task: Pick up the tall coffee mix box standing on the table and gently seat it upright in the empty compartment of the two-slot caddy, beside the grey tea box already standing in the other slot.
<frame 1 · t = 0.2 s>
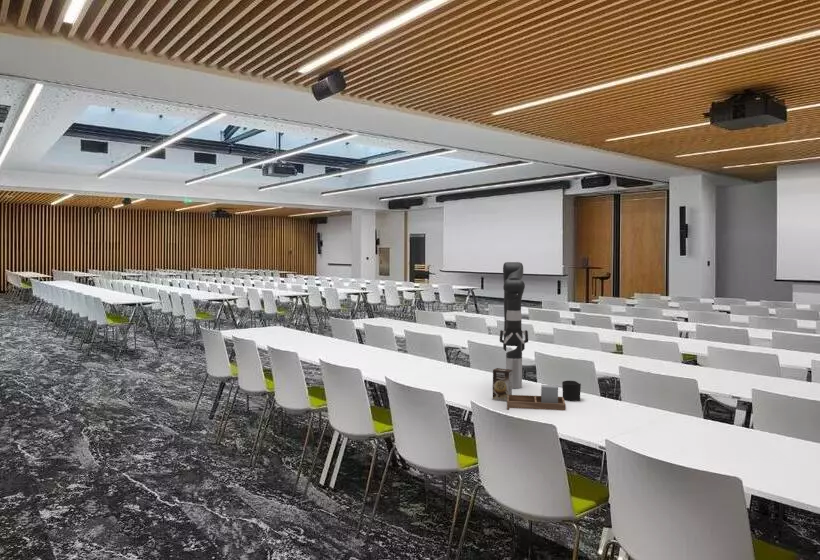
hand: (513, 350, 296), 29 cm above the table, tool pointing down, fingers open, 8 cm apart
caddy: (535, 407, 296), on the table
coffee box: (502, 399, 312), on the table
pen holder: (571, 401, 307), on the table
tea box: (549, 405, 295), point 1 cm above the table, touching caddy
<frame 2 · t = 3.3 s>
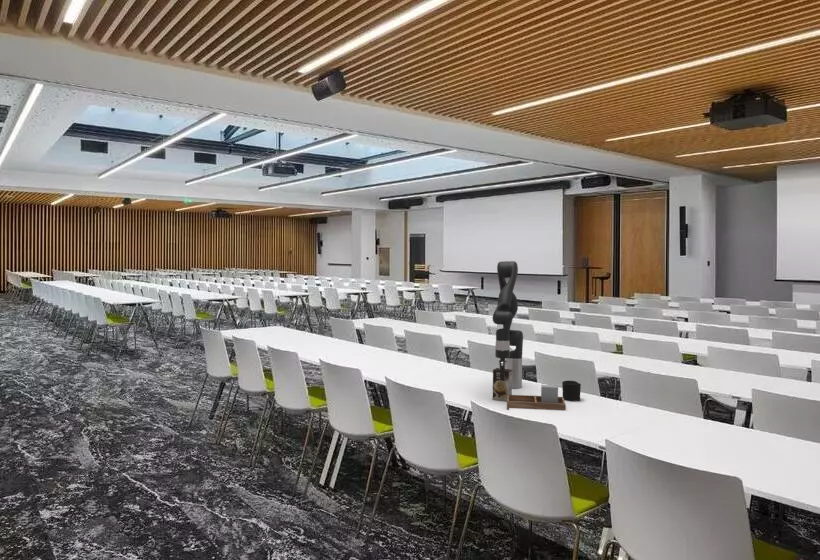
hand: (502, 379, 311), 11 cm above the table, tool pointing down, fingers closed on coffee box, 7 cm apart
coffee box: (502, 399, 312), on the table, touching gripper
everything else where it was.
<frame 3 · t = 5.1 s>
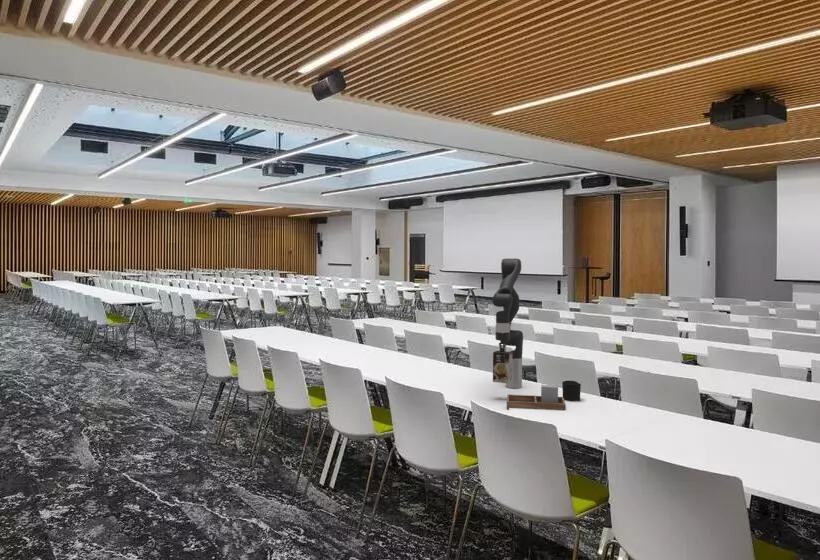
hand: (502, 361, 311), 20 cm above the table, tool pointing down, fingers closed on coffee box, 7 cm apart
coffee box: (502, 382, 312), point 9 cm above the table, touching gripper
everything else where it was.
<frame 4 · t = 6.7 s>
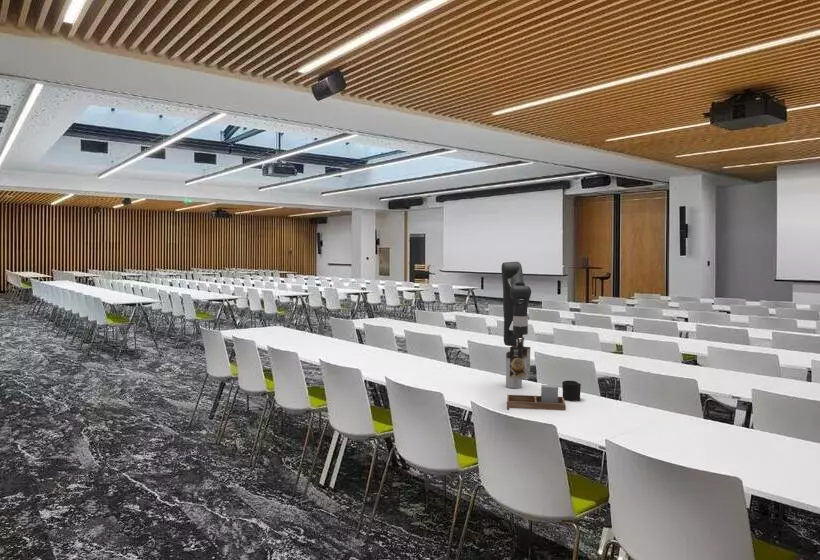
hand: (520, 356, 297), 25 cm above the table, tool pointing down, fingers closed on coffee box, 7 cm apart
coffee box: (519, 378, 297), point 14 cm above the table, touching gripper
everything else where it was.
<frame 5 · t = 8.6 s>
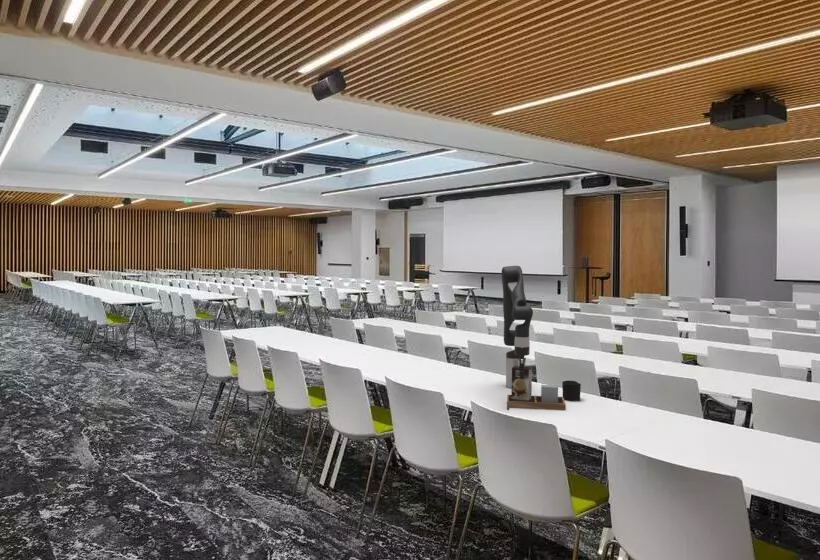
hand: (521, 377, 297), 15 cm above the table, tool pointing down, fingers closed on coffee box, 7 cm apart
coffee box: (521, 398, 297), point 4 cm above the table, touching gripper
everything else where it was.
when the fingers open (13 cm above the table, at t = 10.2 s): coffee box stays where it is, resting on caddy.
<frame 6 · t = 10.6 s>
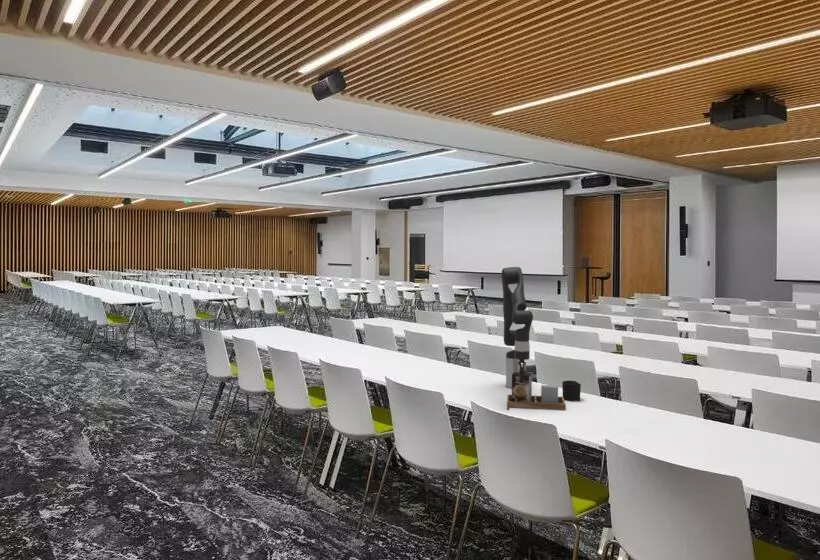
hand: (521, 381, 297), 13 cm above the table, tool pointing down, fingers open, 8 cm apart
coffee box: (521, 404, 297), point 1 cm above the table, touching caddy
everything else where it was.
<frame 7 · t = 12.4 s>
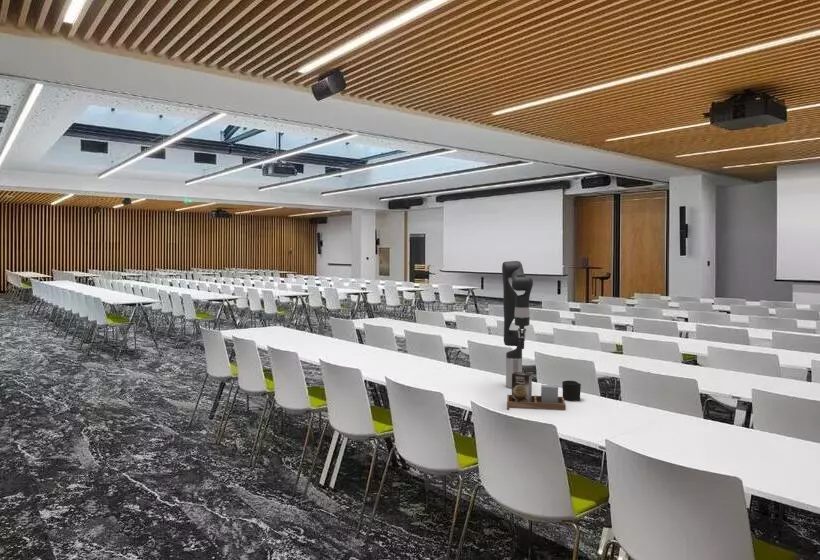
hand: (521, 347, 297), 30 cm above the table, tool pointing down, fingers open, 8 cm apart
nothing on the table moved.
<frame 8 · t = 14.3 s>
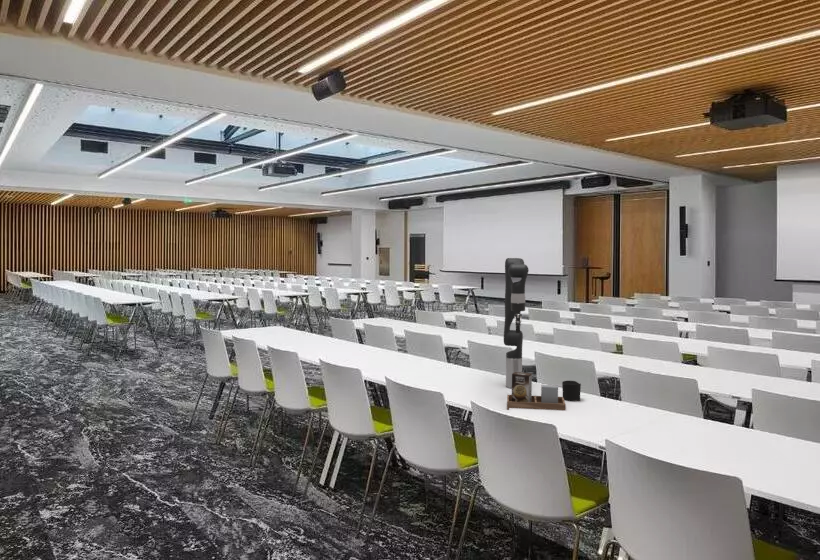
hand: (517, 332, 311), 36 cm above the table, tool pointing down, fingers open, 8 cm apart
nothing on the table moved.
at the end: coffee box inside the target area on the caddy (0.1 cm from its centre), point 0.8 cm above the caddy's base; coffee box tilted 0°; the gripper is holding nothing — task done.
